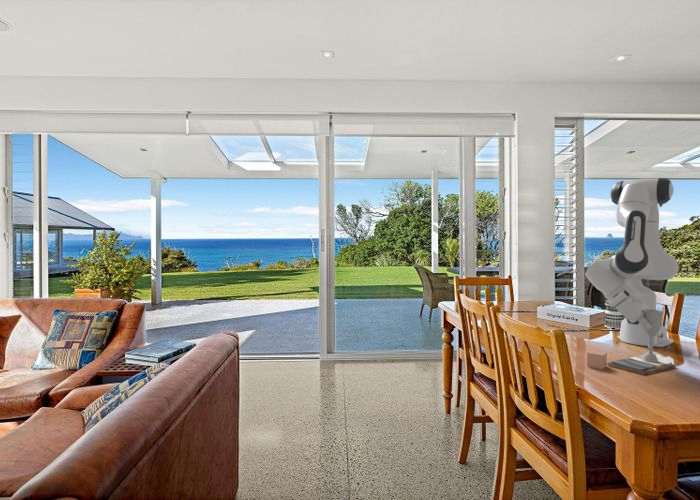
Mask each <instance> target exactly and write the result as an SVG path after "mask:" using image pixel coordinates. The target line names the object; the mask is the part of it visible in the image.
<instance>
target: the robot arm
mask: <svg viewBox="0 0 700 500" xmlns="http://www.w3.org/2000/svg"><path fill="white" fill-rule="evenodd" d="M673 194H674V185H673V183H672V181H671V180H670V179H669V178H665V177H658V178H648V177H647V178H639V179H630V180H626V181H625V180H620V181H617V182H615V183H614V184H613V185H612V186H611V189H610V193H609V195H610V199H611V202H612V203H613V204H614V205H617V207H616V222H617V223H618V225H619V226H620V227H623V228H624V236H623V237H624V238H623V243H622V246H621V247H619V249H618V250H617V252H616V254H614V255H612V256H611V257H610V258H605V259H603V258H602V259H601V258H600V259H599V258H598V259H594V260H593V261H592V262H590V264H589V265H588V266H587V267H586V269H585V272H584V275H585V277H586V279H588V281H589V282H590V283H591V284H592V286H593V287H594V288H596V290H598V291H600V292H601V293H602V294H603V296H604V298H605V297H606V298H607V299H608V300H609V304H610V305H611V306H612V307H615V308H616V309H617V310H618V311H619V312H620V313H621V314H622V315H623V316H624V317H623V318H624V320H622V322H621V329H619V330H620V331H619V332H620V333H619V334H618V335H617V336H616V338H617V339H619V340H620V341H621V342H622V343H627V344H631V345H637V346H646V347H648V346H649V342H648V341H649V336H648V335H646V333H645V331H644V329H643V327H642V325H644V326H645V327H646V328H647V329H650V328H651V327H653V325H652V324H651V323H650V322H648V321H647V320H646V319H645V318H644V317H643V315H644V312H643V311H646V310H645V309H650V310H657V295H656V292H654V290H652V289H651V288H649V287H647V286H645V285H644V284H643V281H642V280H652V281H653V280H655V281H663V280H664V281H665V280H672V279H674V277H675V276H677V275H678V271H679V264H678V261H677V260H676V259H675V257H673V256H672V255H670V254H669V253H668V252H667V251H666V250H665V249H664V248H663V246H662V244H661V240H660V213H659V208H661V207H663V205H665V204H667V203H668V202H669V201H670V200H671V199H672V197H673ZM642 310H643V311H642ZM641 324H642V325H641ZM652 339H653V344H652V346H653V347H658V348H663V347H664V348H665V347H667V346H668V345H669V346H670V344H673V343H674V339H671V338H668V332H667V328H666V326H664V325H663V324H662V326H661V328H660V330H659V332H658V333H657V335H656V336H653V338H652Z"/></svg>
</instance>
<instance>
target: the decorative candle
mask: <svg viewBox="0 0 700 500" xmlns="http://www.w3.org/2000/svg"><path fill="white" fill-rule="evenodd" d="M604 299H605V300H604V305H605V311H604V318H605V319H604V324H603V325H604V326H605V327H607V328H606V329H609V328H615V329H614V330H621V322H622V320H624V319H625V317H624V316H623V315H622V314H621V313H620V312H619V311H618V310H617V309H616V308H615V307H612V306H611V305H610V304H609V300H608V299H607V298H606V297H605V296H604ZM605 327H604V328H605Z"/></svg>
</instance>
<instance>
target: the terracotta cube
mask: <svg viewBox="0 0 700 500" xmlns="http://www.w3.org/2000/svg"><path fill="white" fill-rule="evenodd" d="M586 354H587V356H586V358H587V359H586V367H589V368H594V369H599V370H604V369H605V368H606V367H607V366H608V365H607V363H608V360H607V359H608V358H607V357H608V352H605V351H599V350H594V349H593V350H592V349H591V350H590V351H587V353H586Z"/></svg>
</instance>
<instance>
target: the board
mask: <svg viewBox="0 0 700 500" xmlns="http://www.w3.org/2000/svg"><path fill="white" fill-rule="evenodd" d="M643 356H644V354H643V355H637V356H632V357H628V358H622V359H617V360H612V361H607V366H608V367H613V368H615V369H618V370H622V371H623V370H624V371H627V372H630V373H634V374H638V375H641V376H646V375H649V374H654V373H657V372H662V371H667V370H671V369H674V368H676V364H675V363H673V362H671V361H667V360H664V359H658V358H657V360H658V361H659V362H649V361H644V360H642V358H643Z"/></svg>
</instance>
